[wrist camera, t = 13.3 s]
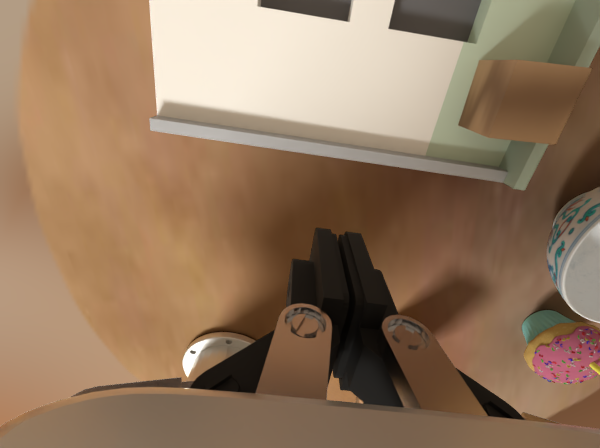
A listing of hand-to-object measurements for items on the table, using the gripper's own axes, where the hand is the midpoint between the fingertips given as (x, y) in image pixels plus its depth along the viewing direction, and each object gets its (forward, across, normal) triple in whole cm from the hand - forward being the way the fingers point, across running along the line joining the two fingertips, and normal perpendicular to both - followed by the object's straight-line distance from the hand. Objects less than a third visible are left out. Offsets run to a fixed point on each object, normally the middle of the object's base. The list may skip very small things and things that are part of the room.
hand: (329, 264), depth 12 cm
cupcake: (+21, -33, +18) cm, 43 cm away
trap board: (+20, -2, -8) cm, 21 cm away
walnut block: (+18, -14, -7) cm, 24 cm away
